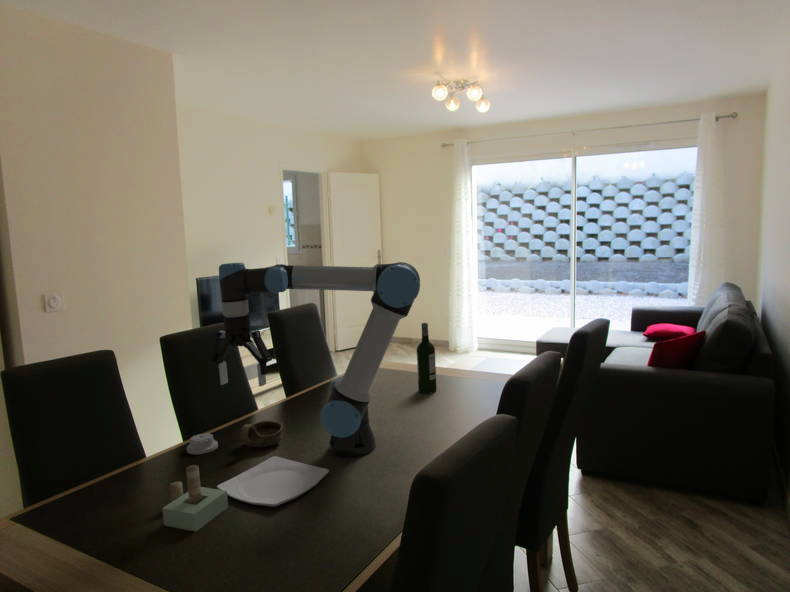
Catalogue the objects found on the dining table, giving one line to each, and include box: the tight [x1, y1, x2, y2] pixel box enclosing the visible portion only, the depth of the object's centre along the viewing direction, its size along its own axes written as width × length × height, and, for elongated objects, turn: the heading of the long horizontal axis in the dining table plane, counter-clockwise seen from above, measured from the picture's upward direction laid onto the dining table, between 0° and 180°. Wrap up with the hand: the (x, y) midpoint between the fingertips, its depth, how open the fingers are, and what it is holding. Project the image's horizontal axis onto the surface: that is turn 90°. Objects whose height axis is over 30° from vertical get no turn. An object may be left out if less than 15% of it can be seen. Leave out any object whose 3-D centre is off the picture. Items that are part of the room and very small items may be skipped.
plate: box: [216, 455, 330, 508], centre depth 151 cm, size 24×24×3 cm
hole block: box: [161, 486, 229, 532], centre depth 136 cm, size 10×12×4 cm
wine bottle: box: [416, 322, 437, 394], centre depth 232 cm, size 8×8×30 cm
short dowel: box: [169, 481, 184, 502], centre depth 142 cm, size 3×3×6 cm
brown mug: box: [239, 419, 284, 448], centre depth 179 cm, size 14×18×10 cm
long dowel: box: [185, 464, 202, 505], centre depth 135 cm, size 3×3×13 cm
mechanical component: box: [186, 432, 219, 455], centre depth 181 cm, size 10×4×10 cm
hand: (243, 384), depth 161 cm, fingers open, 13 cm apart
